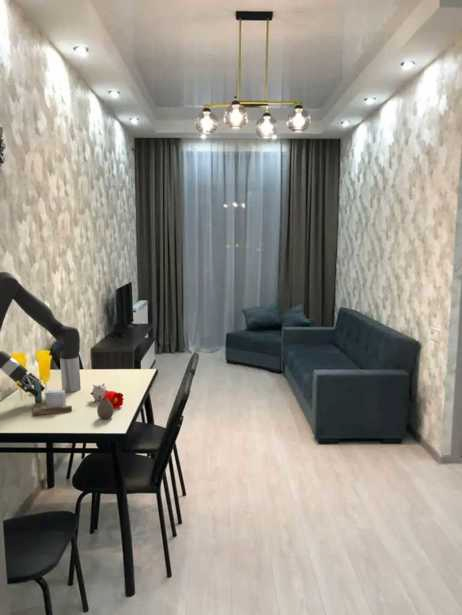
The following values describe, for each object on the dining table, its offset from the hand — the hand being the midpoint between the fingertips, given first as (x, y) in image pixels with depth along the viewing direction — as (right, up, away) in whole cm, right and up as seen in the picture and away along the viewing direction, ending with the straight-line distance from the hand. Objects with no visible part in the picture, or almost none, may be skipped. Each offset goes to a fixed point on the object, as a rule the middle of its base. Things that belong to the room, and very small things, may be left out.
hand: (40, 392), depth 238 cm
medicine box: (+10, -7, -7) cm, 14 cm away
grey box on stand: (+7, -6, -4) cm, 10 cm away
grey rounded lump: (+36, -8, -20) cm, 42 cm away
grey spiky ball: (+27, -5, +4) cm, 28 cm away
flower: (+35, -6, -5) cm, 36 cm away
